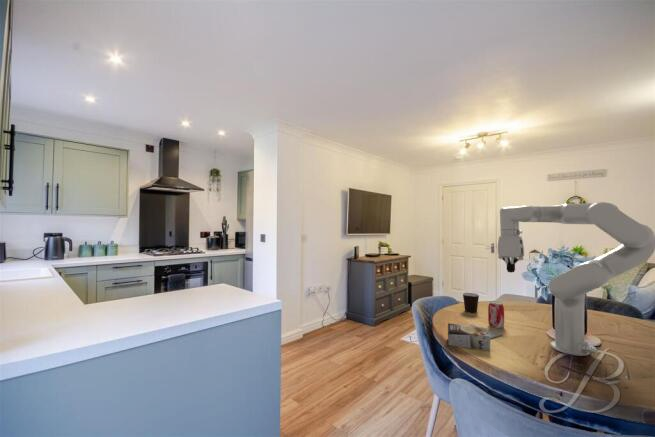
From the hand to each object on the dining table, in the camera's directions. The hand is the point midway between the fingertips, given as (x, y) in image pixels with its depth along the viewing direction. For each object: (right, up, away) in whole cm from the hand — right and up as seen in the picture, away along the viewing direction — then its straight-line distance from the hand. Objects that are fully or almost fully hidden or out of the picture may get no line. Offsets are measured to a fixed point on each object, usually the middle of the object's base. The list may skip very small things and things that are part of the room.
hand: (510, 271), depth 140 cm
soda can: (-1, -30, +10) cm, 31 cm away
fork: (+3, -30, -38) cm, 48 cm away
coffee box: (-18, -26, -14) cm, 35 cm away
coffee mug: (-3, -30, +34) cm, 46 cm away
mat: (-16, -29, +1) cm, 34 cm away
